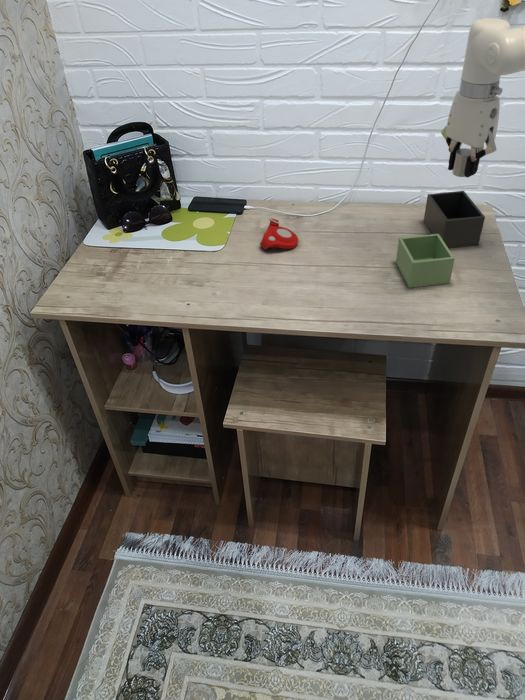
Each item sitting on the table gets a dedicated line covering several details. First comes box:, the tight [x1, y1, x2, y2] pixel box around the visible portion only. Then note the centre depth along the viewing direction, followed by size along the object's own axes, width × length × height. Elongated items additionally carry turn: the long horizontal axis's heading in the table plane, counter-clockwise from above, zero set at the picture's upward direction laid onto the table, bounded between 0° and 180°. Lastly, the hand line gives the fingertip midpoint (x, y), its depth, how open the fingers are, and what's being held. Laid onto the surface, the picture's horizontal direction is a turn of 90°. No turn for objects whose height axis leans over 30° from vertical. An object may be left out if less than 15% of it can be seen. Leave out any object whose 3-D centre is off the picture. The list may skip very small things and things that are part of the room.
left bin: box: [395, 233, 456, 289], centre depth 128 cm, size 10×9×7 cm
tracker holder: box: [259, 218, 299, 250], centre depth 142 cm, size 12×4×10 cm
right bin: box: [423, 190, 486, 249], centre depth 139 cm, size 13×9×8 cm
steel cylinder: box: [451, 147, 471, 178], centre depth 128 cm, size 4×4×5 cm
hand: (461, 171), depth 130 cm, fingers closed on steel cylinder, 4 cm apart
